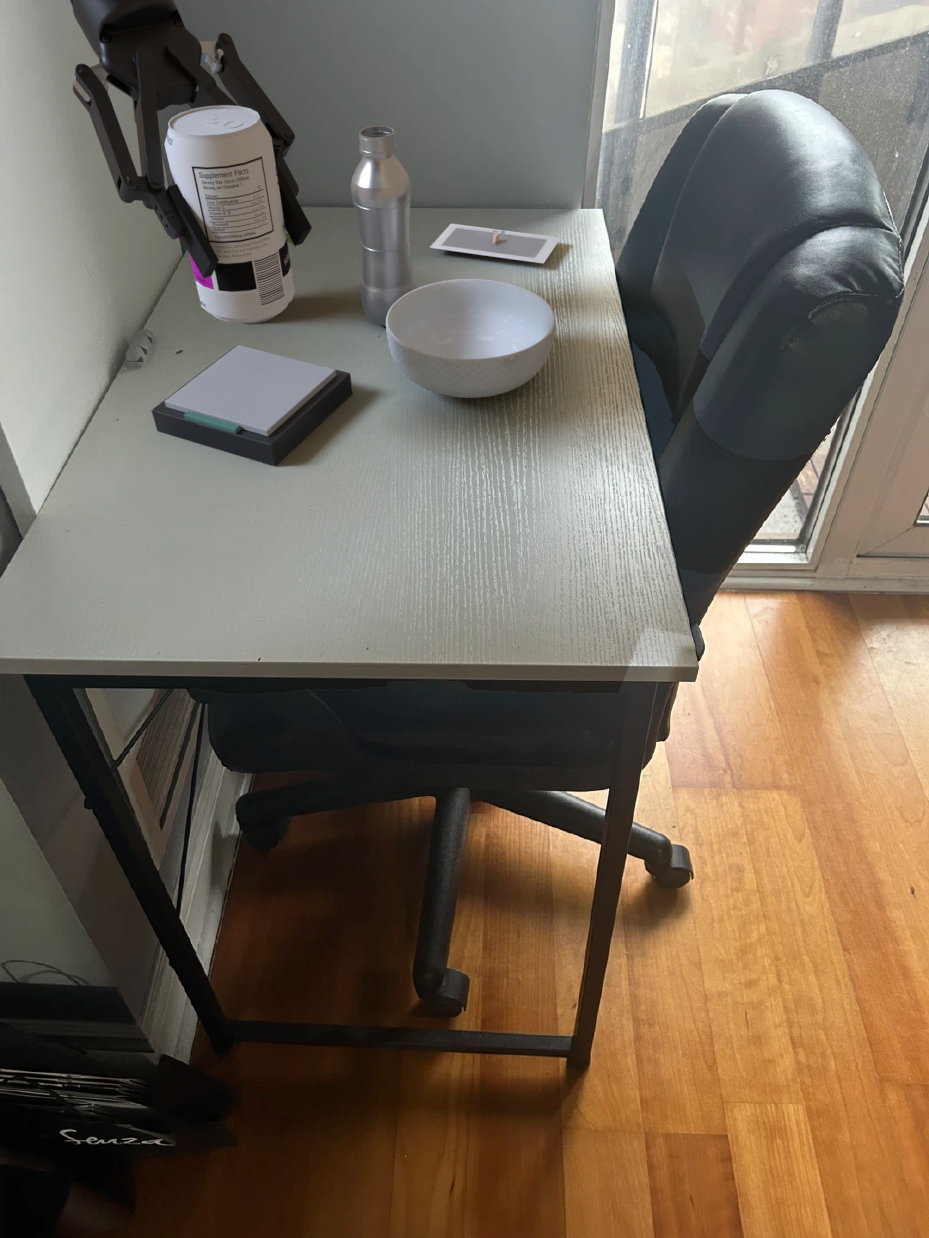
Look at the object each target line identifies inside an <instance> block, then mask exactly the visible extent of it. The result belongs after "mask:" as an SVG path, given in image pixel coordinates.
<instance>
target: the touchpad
mask: <svg viewBox="0 0 929 1238" xmlns="http://www.w3.org/2000/svg"><path fill="white" fill-rule="evenodd" d="M561 238H562V237H558V236H552V235H551V236H550V235H544V234H543V235H542V234H536V233H528V232H521V231H520V232H519V231H511V230H504V229H497V228H489V227H481V226H473V225H466V224H458V223H450V224H449V225H448V226H447V227H446V229H445V230H444V231H443V232H442V233H441V234H440V235H439V236H438V237H437V238H436V239H435V241H433V243H432V244H431V245H430V246H429V249H436V250H441V251H442V250H443V251H450V252H458V253H465V254H472V255H477V256H478V255H479V256H484V257H485V256H486V257H487V256H488V257H492V258H501V259H506V260H516V261H521V262H530V263H536V264H543V265H544V264H545V262H546V261H547V260H548V258H549V257H550V255H551V254H552V252H553V251H554V249H555V248H556V246H557V245H558V244H559V242H560V240H561Z"/></svg>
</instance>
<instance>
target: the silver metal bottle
mask: <svg viewBox="0 0 929 1238" xmlns="http://www.w3.org/2000/svg"><path fill="white" fill-rule="evenodd" d="M358 140H359V147H358V150H359V154H360V155H361V156H362V158H361V160H360V161H359V163H358V165H357V166H356V168H355V171H354V173H353V174H352V177H351V182H350V193H351V198H352V203H353V208H354V211H355V216H356V221H357V224H358V225H357V226H358V232H359V239H360V245H361V252H362V253H361V254H362V255H361V256H362V258H361V259H362V278H361V279H362V280H361V288H360V289H361V290H360V291H361V293H360V295H361V297H360V298H361V299H360V302H361V305H362V308H363V312H364V314H365V315H366V317H367V318H368V319H369V320H370V321H371V322H372V323H375V324H376V325H380V326H385V327H386V317H387V314H388V311H389V309H390V308H391V306H392V305H393V304H394V303H395V302H396V301H397V300H398V299H399V298H401V297H402V296H404V295H405V294H407V293H409V292H411V291H412V290H415V289H417V288H418V286H417V283H416V279H415V276H414V269H413V262H412V256H411V248H410V218H411V217H410V215H411V205H412V203H411V201H412V183H411V179H410V177H409V174H408V172H407V171H406V169H405V168H404V166H403V164H402V163H401V162H400V161H399V159H398V157H396V156H395V154H396V153H397V151H398V147H397V143H396V133H395V130H394V129H393V128H392V127H390V126H385V125H371V126H366V127H364V128H361V130H359V132H358Z"/></svg>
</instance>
